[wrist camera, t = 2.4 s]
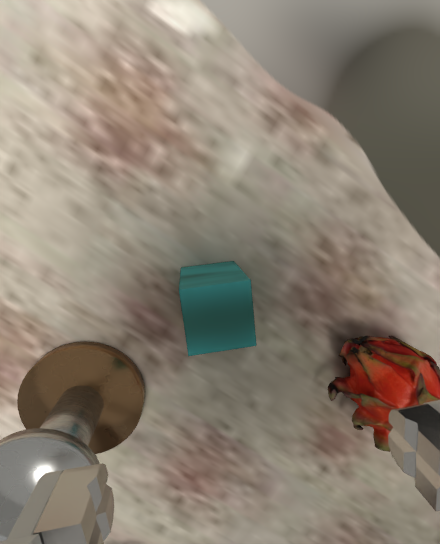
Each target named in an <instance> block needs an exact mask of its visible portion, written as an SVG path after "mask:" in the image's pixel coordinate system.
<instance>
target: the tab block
mask: <svg viewBox="0 0 440 544" xmlns="http://www.w3.org/2000/svg"><path fill="white" fill-rule="evenodd" d="M179 294H180V301H181V308H182V315H183V321H184V328H185V335H186V342H187V349H188V356H192V355H199V354H205V353H212V352H218V351H225V350H231V349H238V348H245V347H251V346H256V335H255V324H254V312H253V301H252V290H251V280H250V279H249V278H248V276H247V275H246V274H245V273H244V272H243V271H242V270H241V269H240V268H239V266H238V265H237V264H236V263H235V262H234V261H229V262H221V263H213V264H206V265H198V266H190V267H182V268H181V273H180V283H179Z"/></svg>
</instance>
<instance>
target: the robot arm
mask: <svg viewBox="0 0 440 544" xmlns="http://www.w3.org/2000/svg"><path fill="white" fill-rule="evenodd" d="M389 423H390V424H391V425H392V426H393V429H392V430H391V432H390V433H389V434H388V445H389V448H390V451H391V454H392V456H393V458H394V460H395V462H396V463H397V465H398V466H399V467H400V468H401V470H402V471H403V472H404V473H406V474H408V475H410V476H412V477H414V478H415V487H416V488H417V489H418V490H419V492H420V493H421V494H422V495H423V496H424V498H425V499H426V500H427V501H428V502H429V504H430V505H431V506H432V507H433V508H434V510H435V511H439V510H440V400H437V401H432V402H427V403H423V404H418V405H413V406H408V407H403V408H398V409H392V410H391V411H390V413H389ZM107 478H108V472H107V468H106V465H105V464H103V463H102V464H96V465H90V466H83V467H77V468H71V469H65V470H62V471H55V472H48V473H45V474H44V475H43V476H41V477H40V479H39V480H38V482H37V484H36V486H35V488H34V490H33V492H32V493H31V495H30V497H29V499H28V501H27V503H26V505H25V507H24V508H23V510H22V512H21V514H20V516H19V518H18V520H17V521H16V523H15V525H14V527H13V529H12V531H11V533H10V534H9V536H8V538H7V540H4V541H0V544H104V542H103V541H104V540H105V539H106V537H107V536H108V535H109V534H110V532H111V528H112V523H113V515H114V498H113V492H112V488H111V487H109V486H108V485H107V484H106V482H107Z"/></svg>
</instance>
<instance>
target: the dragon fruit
mask: <svg viewBox="0 0 440 544" xmlns="http://www.w3.org/2000/svg"><path fill="white" fill-rule="evenodd" d="M389 337H390V338H391V339H389V338H382V337H372V336H364V337H359V338H355V339H350V340H347V341H346V342H345V343H344V346H343V348H342V350H341V353H340V354H339V356H341V357H342V360H343V363H344V364H345V366H346V361H347V362H348V365H349V366H350V376H349V377H345V378H340V377H335V378H336V379H335V380H334V381H332V382H331V383H330V384H329V386H328V392H329V393H328V394H329V397H330V399H331V401H332V400H333V399H335V397H336V395H337V393H339V392H343V394H344V395H345V396H346V397H348V398H350V399H352V400H353V401H355V402H356V403H357V404H358V406H359V407H358V408H357V409H356V410H355V412H354V414H353V417H352V422H353V424H354V428H356V429H358V430H363V428H362V427H361V426H360V425H362V426H370V427H373V428H374V441H375V447H376V448H378V449H380V450H383V451H389V452H390V448H389V445H388V434H389V433H390V432H391V430H392V429H393V426H392V425H391V424H390V423H389V413H390V411H391V410H392V409H398V408H403V407H408V406H413V405H418V404H423V403H427V402H432V401H437V400H440V369H439V367H438V366H437V364H436V362H435V361H434V359H433V358H432V357H431V356H429V355H427V354H426V353H424V352H422V351H419V350H417V349H416V348H413V347H411V346H410V345H408V344H406V343H405V342H403V341H402V342H401V340H400V341H399V339H397V338H395V337H393V336H389ZM399 342H400V343H399ZM357 344H360V346H359V345H357Z"/></svg>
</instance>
